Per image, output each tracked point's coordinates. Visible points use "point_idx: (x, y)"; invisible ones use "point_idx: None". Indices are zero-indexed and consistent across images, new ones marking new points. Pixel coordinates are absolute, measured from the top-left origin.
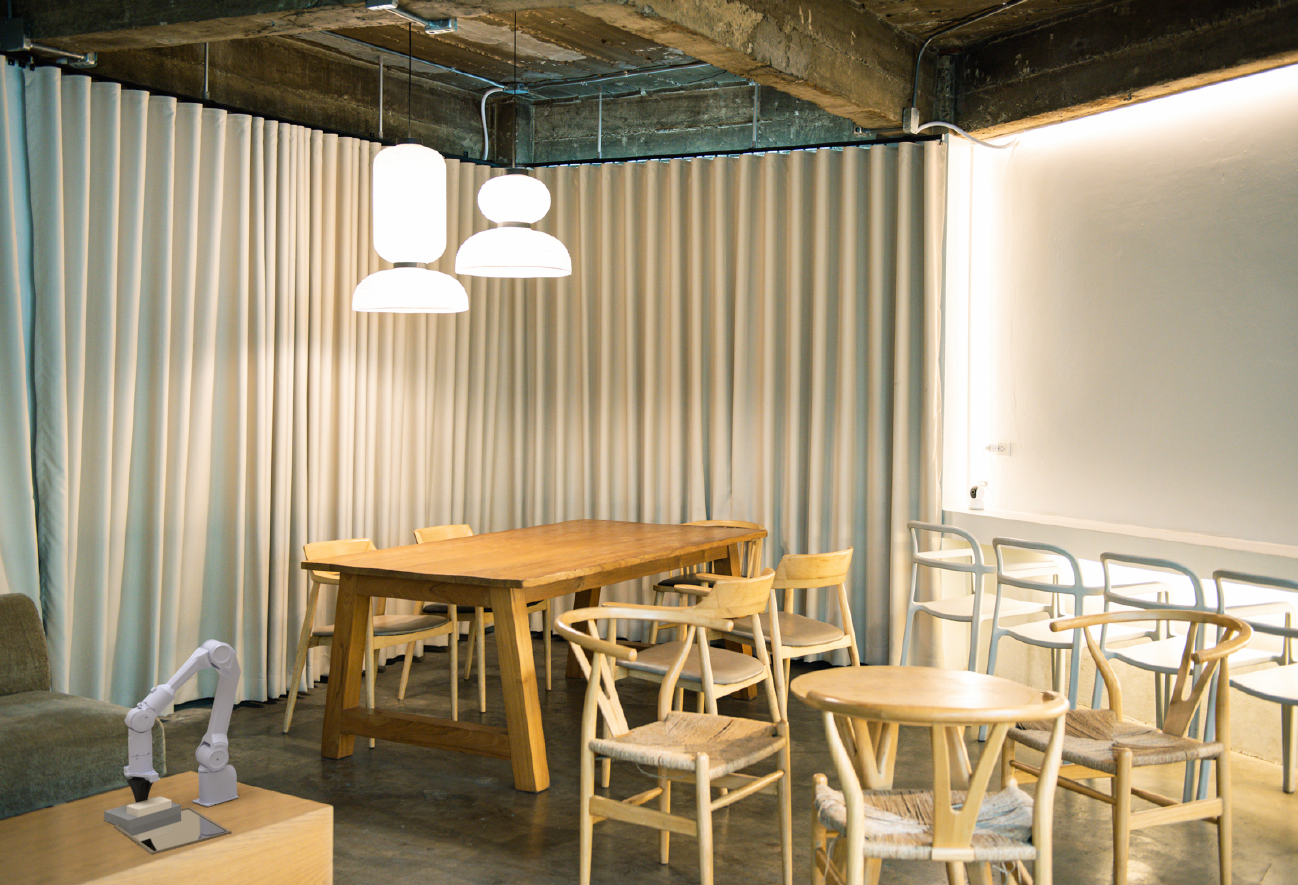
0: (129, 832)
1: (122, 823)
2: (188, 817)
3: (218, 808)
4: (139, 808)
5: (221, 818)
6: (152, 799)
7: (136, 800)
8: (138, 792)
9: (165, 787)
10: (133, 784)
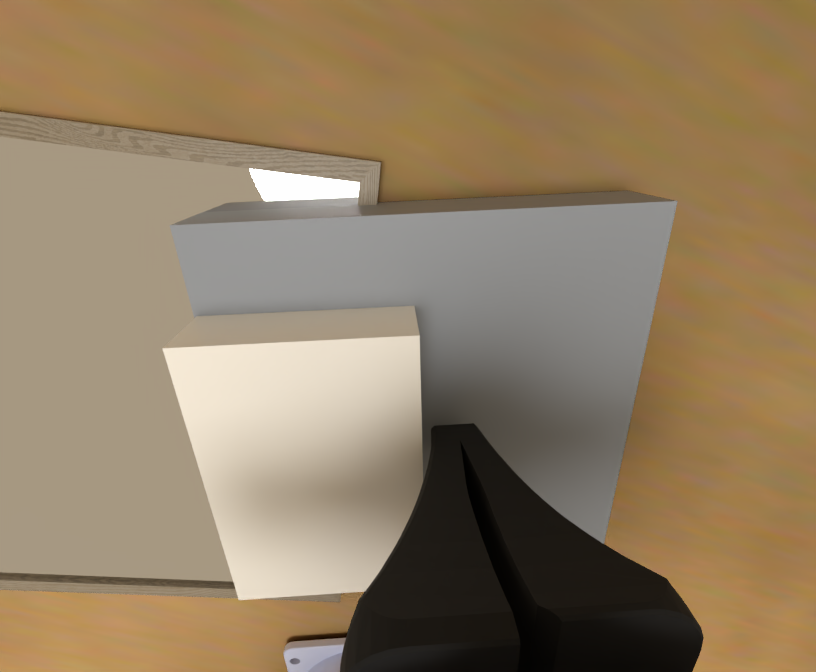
0: (86, 166)
1: (313, 210)
2: (154, 538)
3: (227, 656)
4: (198, 372)
5: (30, 617)
6: (391, 532)
7: (465, 447)
8: (409, 520)
9: (801, 636)
10: (453, 590)
